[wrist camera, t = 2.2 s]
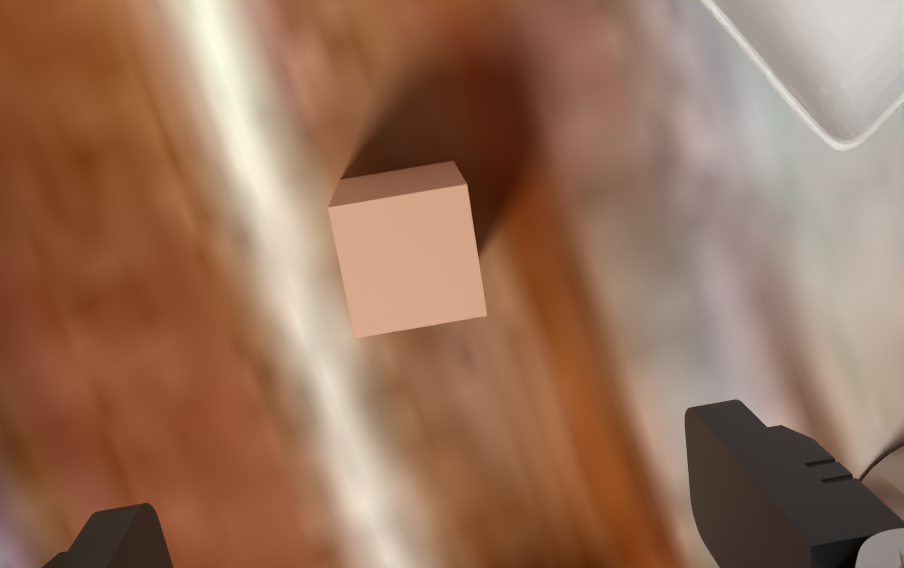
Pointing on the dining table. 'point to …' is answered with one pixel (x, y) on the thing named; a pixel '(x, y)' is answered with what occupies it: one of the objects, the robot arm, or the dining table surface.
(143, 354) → the dining table surface
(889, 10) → the salad plate
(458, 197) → the light pinkish-tan block
